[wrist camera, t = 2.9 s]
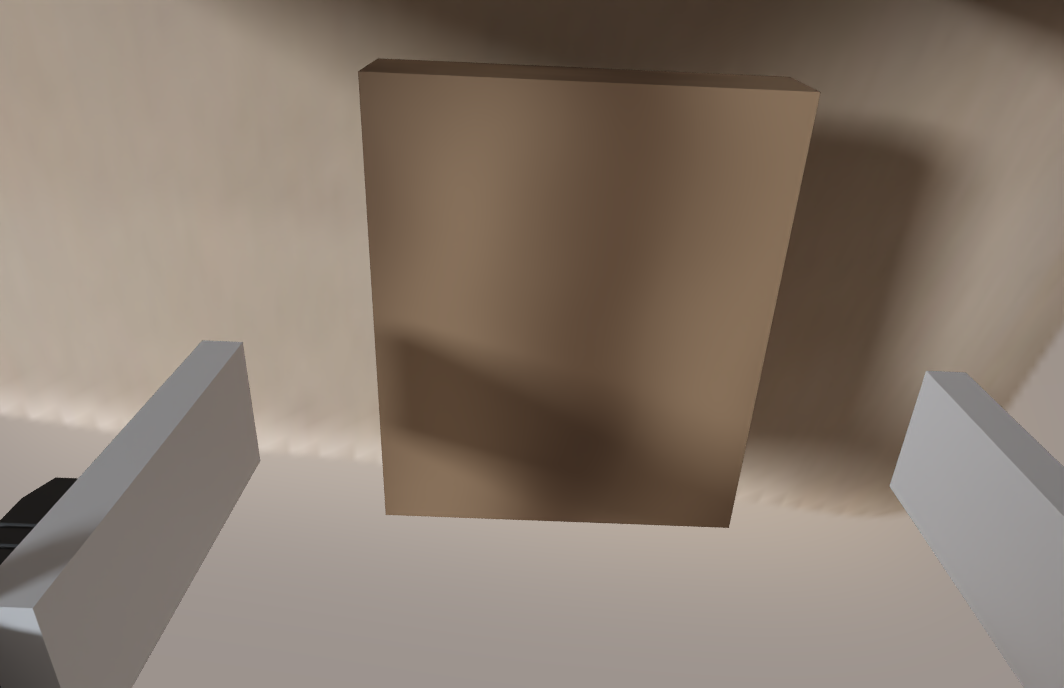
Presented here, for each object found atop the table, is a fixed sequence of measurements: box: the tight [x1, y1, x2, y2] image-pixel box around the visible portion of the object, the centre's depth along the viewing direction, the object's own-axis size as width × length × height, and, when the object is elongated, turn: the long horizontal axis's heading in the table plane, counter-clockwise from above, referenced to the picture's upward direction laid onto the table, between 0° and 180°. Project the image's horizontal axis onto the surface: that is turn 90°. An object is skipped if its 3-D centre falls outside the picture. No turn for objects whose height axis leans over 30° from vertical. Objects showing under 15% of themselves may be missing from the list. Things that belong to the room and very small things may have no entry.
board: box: [358, 59, 820, 528], centre depth 18 cm, size 9×11×2 cm
